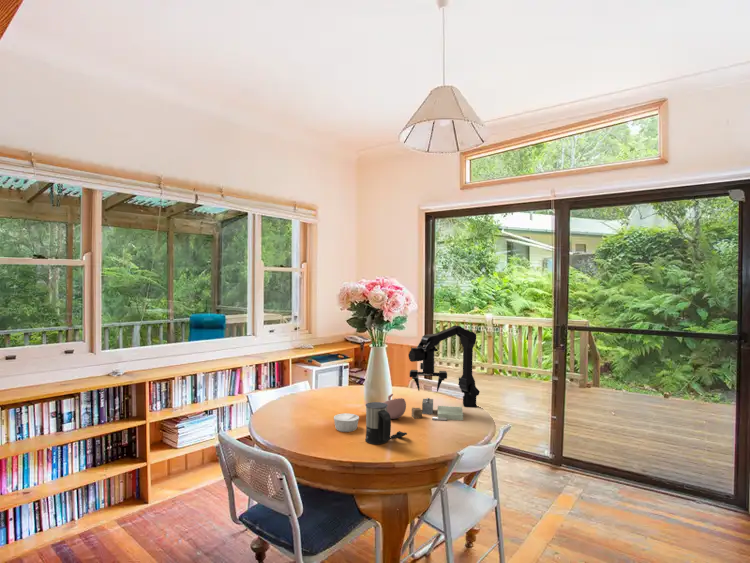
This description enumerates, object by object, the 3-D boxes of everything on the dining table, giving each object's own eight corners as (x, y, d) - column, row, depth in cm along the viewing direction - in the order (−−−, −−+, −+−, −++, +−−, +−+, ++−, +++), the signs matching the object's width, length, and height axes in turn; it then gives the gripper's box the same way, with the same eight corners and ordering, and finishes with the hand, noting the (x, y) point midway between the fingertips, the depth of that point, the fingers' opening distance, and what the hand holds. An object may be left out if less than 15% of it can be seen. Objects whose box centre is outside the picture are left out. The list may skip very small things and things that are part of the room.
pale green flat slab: (461, 411, 226) (461, 406, 226) (463, 420, 212) (463, 414, 212) (437, 410, 228) (437, 405, 228) (437, 418, 214) (437, 413, 214)
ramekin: (360, 432, 193) (360, 420, 193) (334, 433, 191) (334, 421, 191) (357, 424, 204) (357, 412, 204) (332, 425, 202) (332, 413, 202)
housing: (433, 410, 229) (433, 398, 229) (432, 414, 221) (432, 402, 221) (422, 409, 230) (423, 397, 230) (422, 414, 222) (422, 401, 222)
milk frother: (360, 440, 183) (360, 404, 183) (385, 431, 195) (385, 397, 195) (386, 449, 174) (387, 411, 174) (411, 439, 185) (411, 403, 185)
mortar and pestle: (397, 413, 222) (398, 390, 222) (410, 420, 211) (411, 395, 211) (376, 416, 216) (376, 392, 216) (388, 423, 206) (388, 398, 206)
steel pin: (447, 421, 212) (447, 418, 213) (447, 420, 210) (447, 417, 212) (432, 420, 213) (432, 417, 214) (432, 419, 212) (432, 416, 213)
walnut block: (419, 415, 219) (419, 407, 219) (422, 418, 215) (422, 410, 215) (411, 416, 218) (411, 408, 218) (414, 418, 214) (414, 410, 214)
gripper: (446, 358, 232) (446, 388, 232) (411, 357, 235) (410, 386, 235) (447, 362, 221) (446, 393, 221) (409, 360, 224) (409, 391, 224)
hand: (428, 391), depth 226 cm, fingers open, 9 cm apart
